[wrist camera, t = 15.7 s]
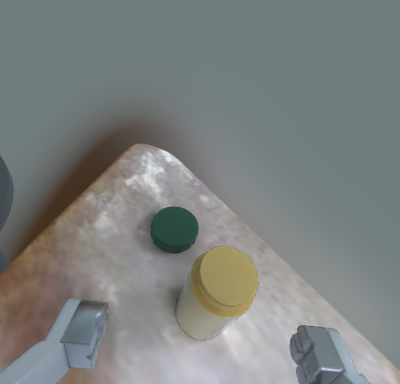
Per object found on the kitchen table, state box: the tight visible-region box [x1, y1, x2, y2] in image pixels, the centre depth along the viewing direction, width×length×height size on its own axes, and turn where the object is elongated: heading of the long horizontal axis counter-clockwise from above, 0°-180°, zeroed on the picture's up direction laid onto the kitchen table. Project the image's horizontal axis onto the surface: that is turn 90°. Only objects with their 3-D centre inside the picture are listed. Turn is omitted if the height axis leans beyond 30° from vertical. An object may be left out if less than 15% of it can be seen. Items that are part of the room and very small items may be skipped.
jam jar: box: [176, 246, 259, 341], centre depth 23 cm, size 6×6×11 cm
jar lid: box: [151, 207, 198, 253], centre depth 32 cm, size 6×6×2 cm
